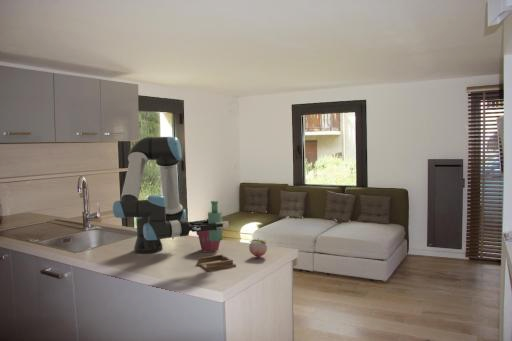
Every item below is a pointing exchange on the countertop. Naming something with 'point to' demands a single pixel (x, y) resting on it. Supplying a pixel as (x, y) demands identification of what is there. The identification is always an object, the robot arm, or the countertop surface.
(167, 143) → the robot arm
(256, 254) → the decorative fruit
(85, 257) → the countertop surface
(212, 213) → the green bottle
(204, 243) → the plant pot
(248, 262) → the countertop surface
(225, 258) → the u rest
